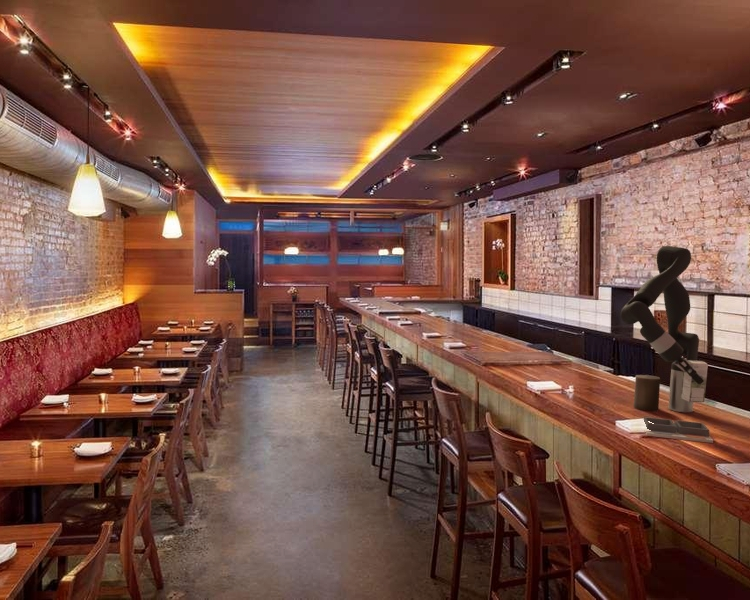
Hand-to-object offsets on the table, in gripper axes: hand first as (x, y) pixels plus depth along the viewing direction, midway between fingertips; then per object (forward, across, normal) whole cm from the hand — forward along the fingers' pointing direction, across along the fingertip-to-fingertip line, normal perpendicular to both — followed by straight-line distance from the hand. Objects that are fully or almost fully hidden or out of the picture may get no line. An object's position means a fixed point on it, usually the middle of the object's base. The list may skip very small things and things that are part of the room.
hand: (699, 380), depth 212 cm
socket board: (+9, -2, +19) cm, 21 cm away
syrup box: (+4, 0, +7) cm, 8 cm away
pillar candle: (+6, +35, +23) cm, 42 cm away
